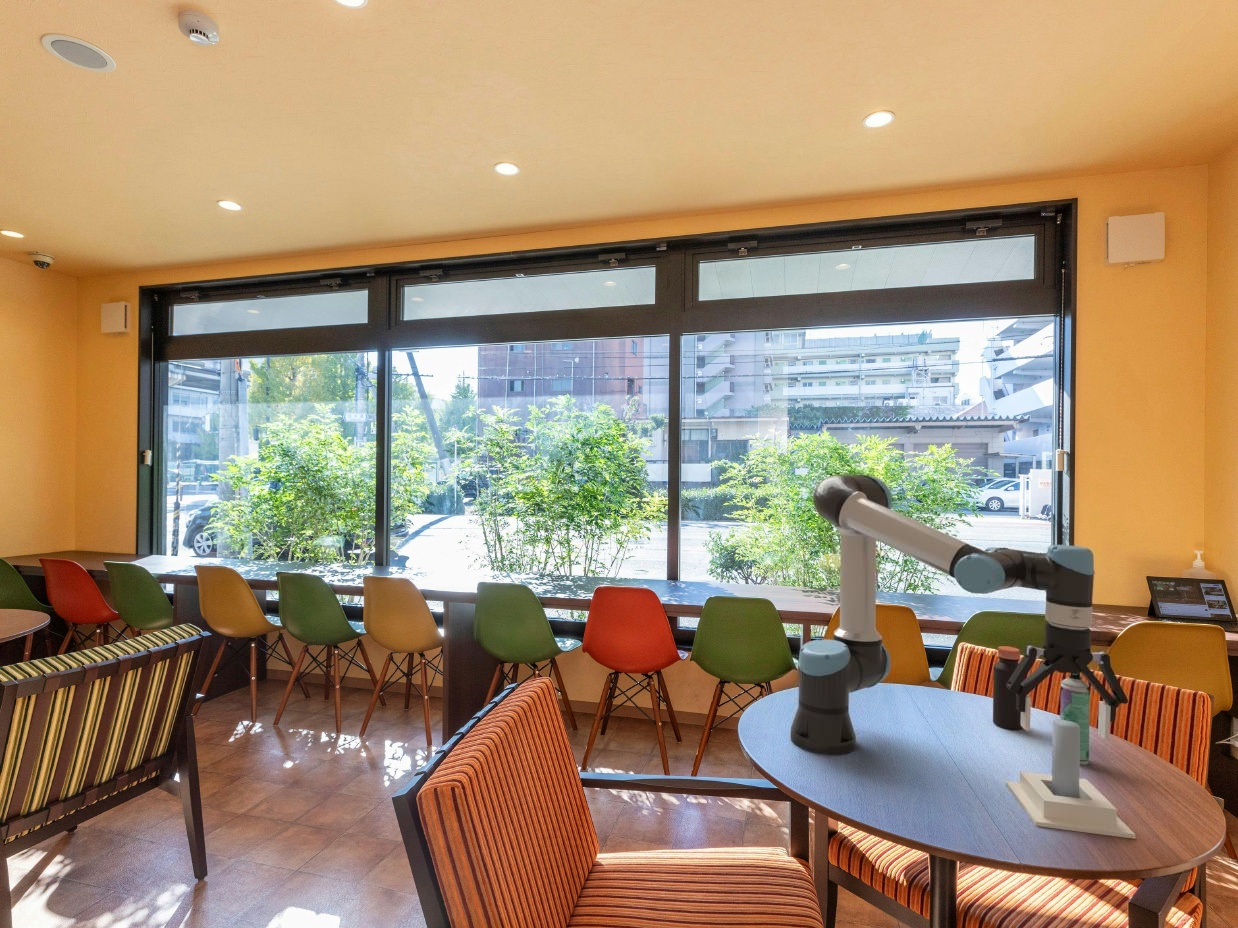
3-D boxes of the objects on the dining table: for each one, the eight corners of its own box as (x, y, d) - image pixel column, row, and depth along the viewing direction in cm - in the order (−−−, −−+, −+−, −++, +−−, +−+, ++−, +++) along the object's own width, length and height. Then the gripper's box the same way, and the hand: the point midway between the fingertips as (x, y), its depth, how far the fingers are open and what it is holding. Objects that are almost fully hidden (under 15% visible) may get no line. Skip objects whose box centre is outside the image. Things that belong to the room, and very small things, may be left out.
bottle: (1023, 723, 168) (1024, 647, 168) (1023, 732, 162) (1024, 653, 163) (993, 718, 172) (994, 643, 172) (992, 726, 166) (993, 649, 166)
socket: (1035, 825, 119) (1036, 804, 119) (1005, 784, 135) (1005, 765, 135) (1135, 838, 116) (1135, 816, 116) (1092, 795, 131) (1092, 775, 131)
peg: (1057, 809, 124) (1058, 726, 124) (1047, 798, 128) (1048, 718, 128) (1083, 813, 123) (1084, 729, 123) (1072, 801, 127) (1073, 720, 127)
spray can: (1083, 755, 150) (1085, 670, 150) (1092, 766, 144) (1093, 677, 144) (1056, 752, 151) (1057, 667, 151) (1064, 762, 146) (1065, 674, 146)
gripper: (1004, 623, 125) (999, 731, 125) (1153, 635, 119) (1148, 749, 119) (991, 614, 132) (987, 716, 132) (1131, 625, 126) (1126, 732, 127)
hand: (1063, 732), depth 126 cm, fingers open, 13 cm apart
